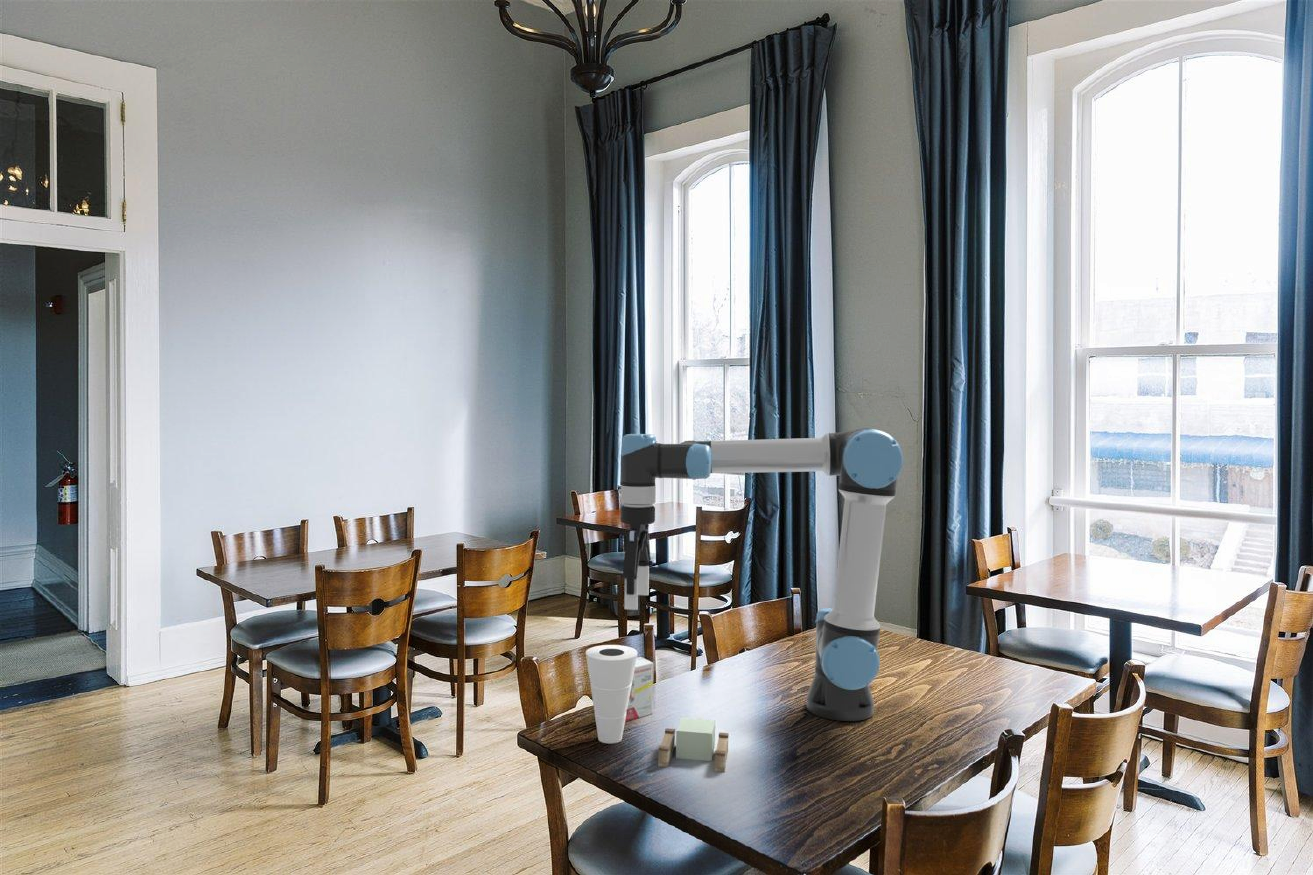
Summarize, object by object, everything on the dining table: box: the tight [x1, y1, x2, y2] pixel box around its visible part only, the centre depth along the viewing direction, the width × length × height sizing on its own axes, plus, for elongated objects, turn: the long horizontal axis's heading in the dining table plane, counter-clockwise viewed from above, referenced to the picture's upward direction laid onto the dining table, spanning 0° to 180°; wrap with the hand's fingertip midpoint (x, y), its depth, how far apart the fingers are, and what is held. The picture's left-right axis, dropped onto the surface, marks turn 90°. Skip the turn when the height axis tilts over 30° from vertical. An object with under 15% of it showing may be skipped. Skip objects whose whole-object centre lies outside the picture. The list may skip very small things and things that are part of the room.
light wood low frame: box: [657, 727, 729, 773], centre depth 164 cm, size 13×10×4 cm
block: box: [675, 717, 716, 762], centre depth 167 cm, size 7×7×6 cm
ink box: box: [625, 656, 655, 723], centre depth 186 cm, size 9×5×12 cm, turn 130°
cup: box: [585, 644, 639, 745], centre depth 173 cm, size 11×11×18 cm
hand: (636, 601), depth 184 cm, fingers open, 13 cm apart
